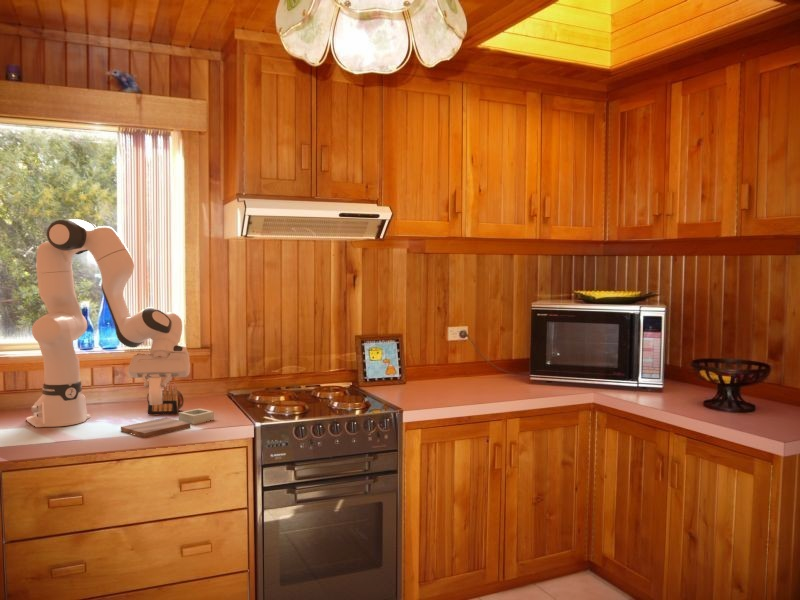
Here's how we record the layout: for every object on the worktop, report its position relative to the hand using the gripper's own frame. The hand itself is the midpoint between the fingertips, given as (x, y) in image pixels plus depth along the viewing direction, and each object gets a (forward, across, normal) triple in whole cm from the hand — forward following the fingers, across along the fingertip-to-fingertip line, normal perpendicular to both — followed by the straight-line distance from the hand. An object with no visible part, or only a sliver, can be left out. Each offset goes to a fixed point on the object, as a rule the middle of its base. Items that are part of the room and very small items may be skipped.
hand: (154, 386), depth 217 cm
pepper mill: (+4, 0, +5) cm, 6 cm away
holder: (+1, +10, +20) cm, 22 cm away
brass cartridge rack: (-11, -6, +32) cm, 35 cm away
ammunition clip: (-7, -5, +28) cm, 29 cm away
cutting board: (+10, 0, +11) cm, 15 cm away
